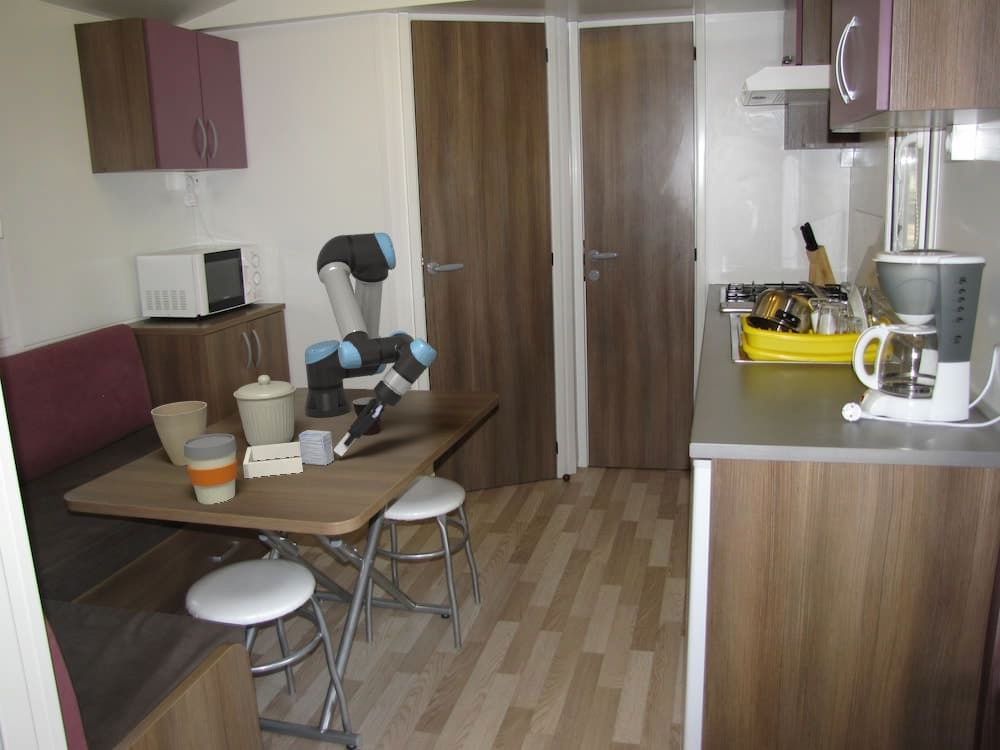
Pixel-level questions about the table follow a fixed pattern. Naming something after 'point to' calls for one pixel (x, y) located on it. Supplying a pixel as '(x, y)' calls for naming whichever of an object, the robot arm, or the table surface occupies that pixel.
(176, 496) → the table surface
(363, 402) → the coffee mug
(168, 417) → the plant pot
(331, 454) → the medicine box
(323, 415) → the robot arm
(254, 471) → the shallow white tray
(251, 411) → the canister
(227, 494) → the reusable coffee cup
